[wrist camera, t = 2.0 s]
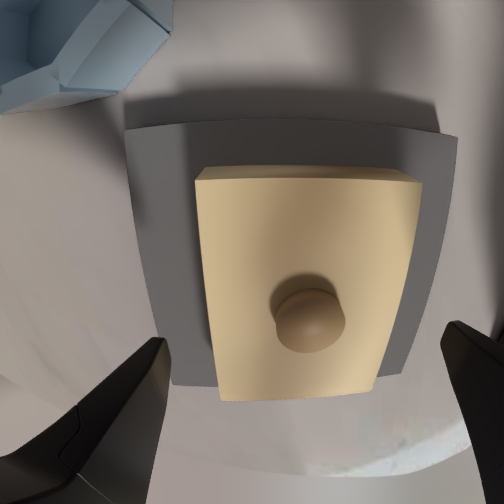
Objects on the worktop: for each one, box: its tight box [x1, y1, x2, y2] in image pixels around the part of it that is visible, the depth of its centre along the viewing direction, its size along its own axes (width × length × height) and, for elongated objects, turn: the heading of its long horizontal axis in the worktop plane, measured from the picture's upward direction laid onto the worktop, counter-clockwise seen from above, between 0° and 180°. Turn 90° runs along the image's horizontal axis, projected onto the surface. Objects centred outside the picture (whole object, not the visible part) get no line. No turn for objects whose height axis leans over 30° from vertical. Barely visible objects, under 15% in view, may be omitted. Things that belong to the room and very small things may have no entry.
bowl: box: [0, 0, 173, 115], centre depth 6 cm, size 7×7×4 cm
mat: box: [123, 119, 458, 387], centre depth 12 cm, size 12×12×1 cm
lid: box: [195, 165, 423, 401], centre depth 10 cm, size 6×9×3 cm
